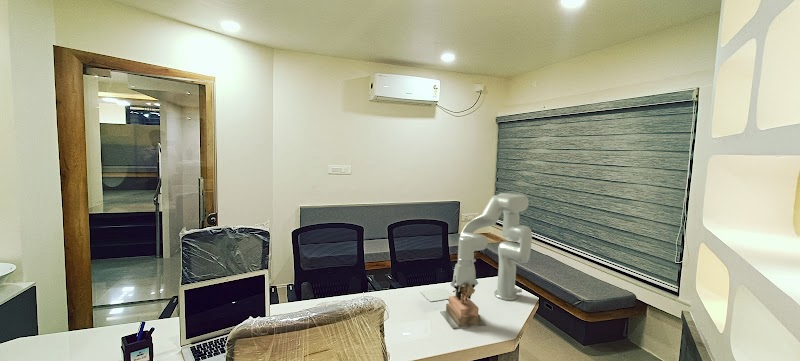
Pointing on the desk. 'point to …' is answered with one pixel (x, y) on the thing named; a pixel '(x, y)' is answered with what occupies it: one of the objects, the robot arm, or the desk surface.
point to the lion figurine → (465, 292)
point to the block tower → (462, 313)
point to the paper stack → (437, 294)
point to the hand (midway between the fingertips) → (463, 297)
